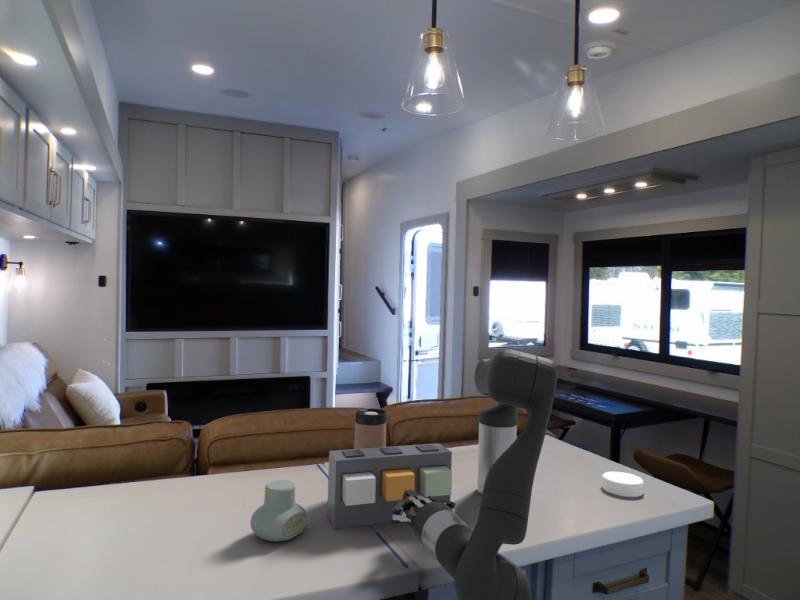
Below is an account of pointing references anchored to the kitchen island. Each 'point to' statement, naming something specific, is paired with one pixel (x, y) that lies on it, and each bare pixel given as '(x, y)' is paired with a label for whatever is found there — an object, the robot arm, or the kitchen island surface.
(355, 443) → the travel mug
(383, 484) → the block
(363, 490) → the block
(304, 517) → the air freshener
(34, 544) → the kitchen island surface
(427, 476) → the block
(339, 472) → the grey switch box
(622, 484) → the white round disc
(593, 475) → the kitchen island surface
